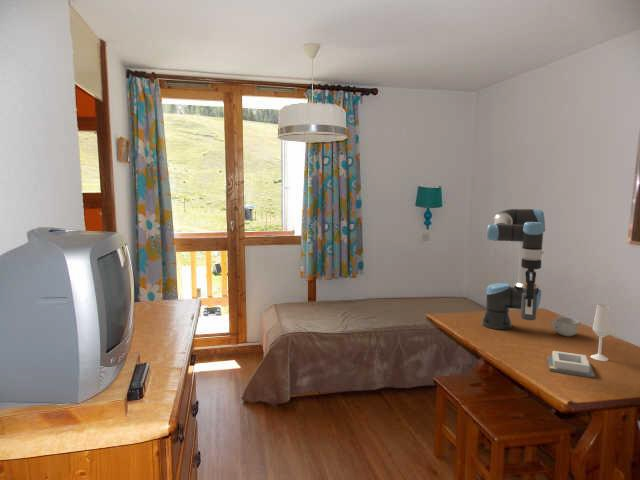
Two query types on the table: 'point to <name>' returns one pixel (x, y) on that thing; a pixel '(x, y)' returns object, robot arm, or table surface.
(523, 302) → the bottle
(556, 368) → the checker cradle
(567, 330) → the teacup
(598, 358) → the champagne flute
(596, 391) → the table surface
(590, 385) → the table surface
